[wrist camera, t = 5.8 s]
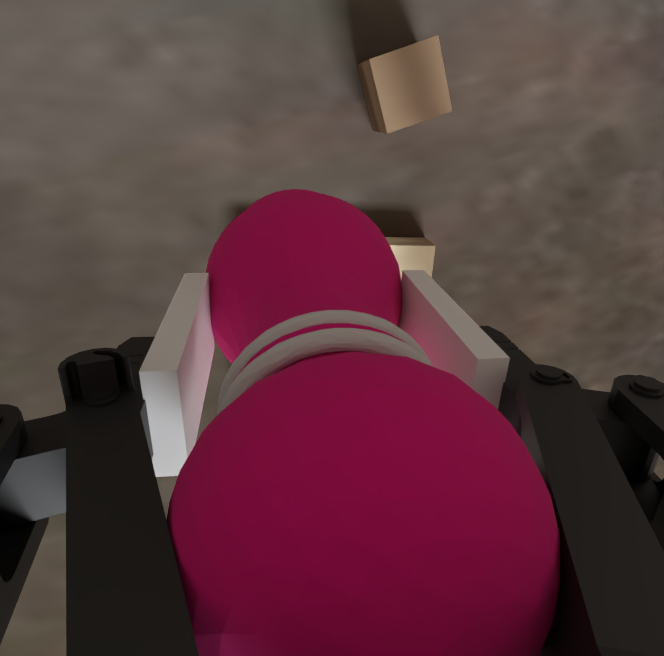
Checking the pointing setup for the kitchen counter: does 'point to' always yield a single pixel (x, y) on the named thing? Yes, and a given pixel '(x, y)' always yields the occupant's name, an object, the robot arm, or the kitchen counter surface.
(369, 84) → the block
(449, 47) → the kitchen counter surface
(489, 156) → the kitchen counter surface
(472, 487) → the pepper mill
